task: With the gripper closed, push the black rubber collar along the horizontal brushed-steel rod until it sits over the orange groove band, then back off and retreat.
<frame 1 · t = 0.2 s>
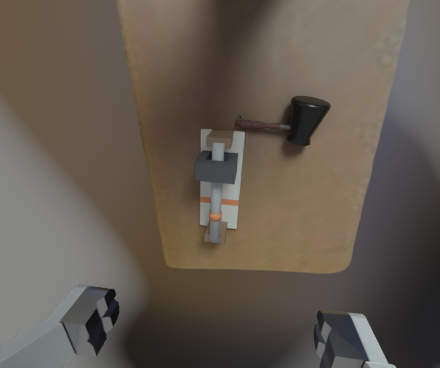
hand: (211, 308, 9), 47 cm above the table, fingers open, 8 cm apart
rail: (220, 181, 58), on the table
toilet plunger: (277, 115, 51), on the table
collar: (217, 166, 48), point 8 cm above the table, slide at 0.0 cm
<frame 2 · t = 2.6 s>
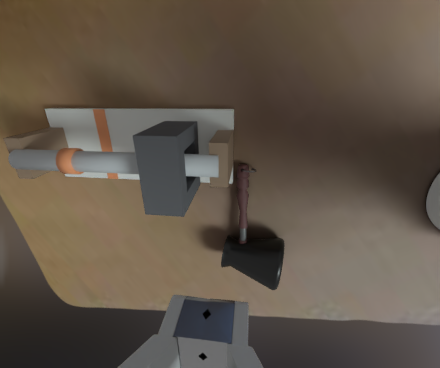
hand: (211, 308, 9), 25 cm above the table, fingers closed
rail: (143, 144, 33), on the table
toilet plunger: (256, 217, 36), on the table
collar: (173, 164, 25), point 8 cm above the table, slide at 0.0 cm
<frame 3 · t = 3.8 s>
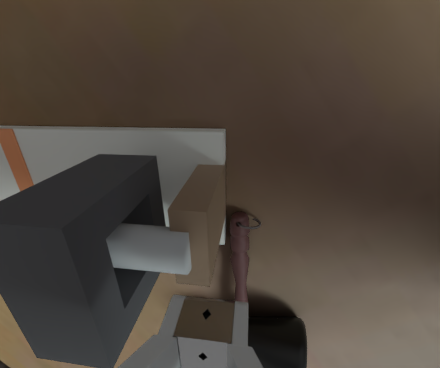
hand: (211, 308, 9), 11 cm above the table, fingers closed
rail: (85, 181, 21), on the table
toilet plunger: (262, 284, 24), on the table
collar: (104, 243, 13), point 8 cm above the table, slide at 0.0 cm
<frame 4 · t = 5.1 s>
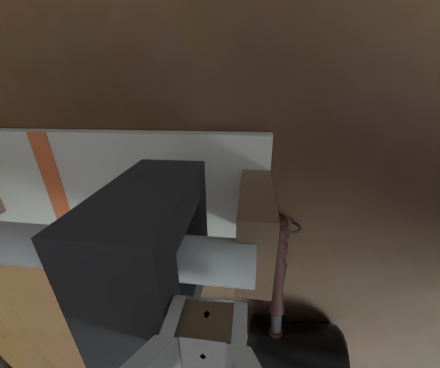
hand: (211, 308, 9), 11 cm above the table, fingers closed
rail: (117, 186, 20), on the table
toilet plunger: (295, 289, 23), on the table
collar: (156, 255, 12), point 8 cm above the table, slide at 0.2 cm, touching gripper
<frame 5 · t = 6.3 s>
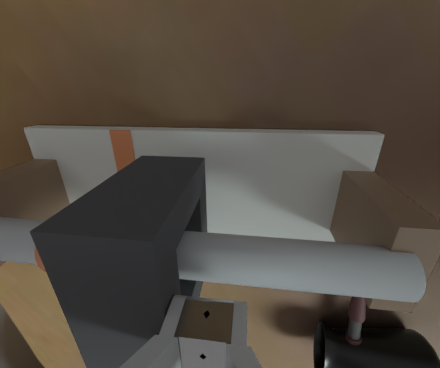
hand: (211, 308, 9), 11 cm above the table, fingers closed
rail: (193, 187, 19), on the table
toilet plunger: (369, 293, 22), on the table
collar: (155, 251, 12), point 8 cm above the table, slide at 7.2 cm, touching gripper
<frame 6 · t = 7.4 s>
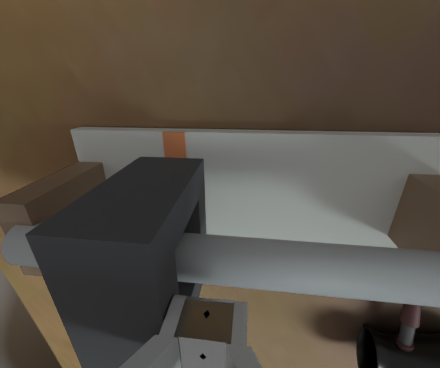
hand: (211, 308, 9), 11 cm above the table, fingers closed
rail: (242, 191, 19), on the table
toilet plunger: (418, 297, 21), on the table
collar: (154, 253, 12), point 8 cm above the table, slide at 11.3 cm, touching gripper
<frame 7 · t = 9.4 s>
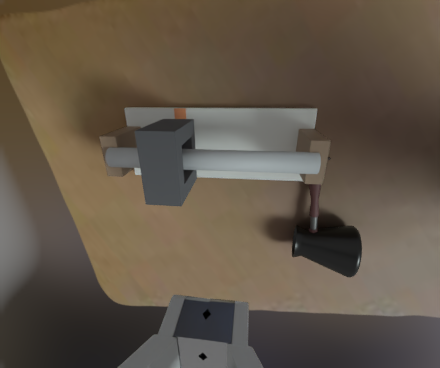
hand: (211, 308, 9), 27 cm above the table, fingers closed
rail: (217, 143, 34), on the table
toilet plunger: (323, 206, 36), on the table
collar: (171, 158, 27), point 8 cm above the table, slide at 11.5 cm
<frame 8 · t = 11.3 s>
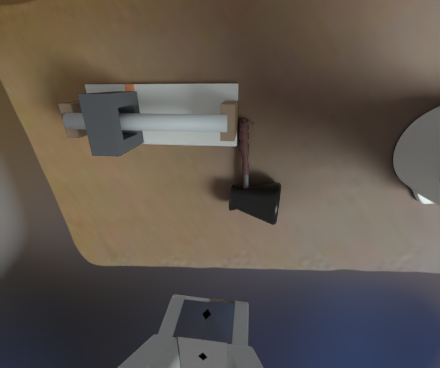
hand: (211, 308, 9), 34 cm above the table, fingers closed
rail: (163, 114, 41), on the table
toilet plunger: (257, 167, 43), on the table
collar: (115, 121, 34), point 8 cm above the table, slide at 11.5 cm
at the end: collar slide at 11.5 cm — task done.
